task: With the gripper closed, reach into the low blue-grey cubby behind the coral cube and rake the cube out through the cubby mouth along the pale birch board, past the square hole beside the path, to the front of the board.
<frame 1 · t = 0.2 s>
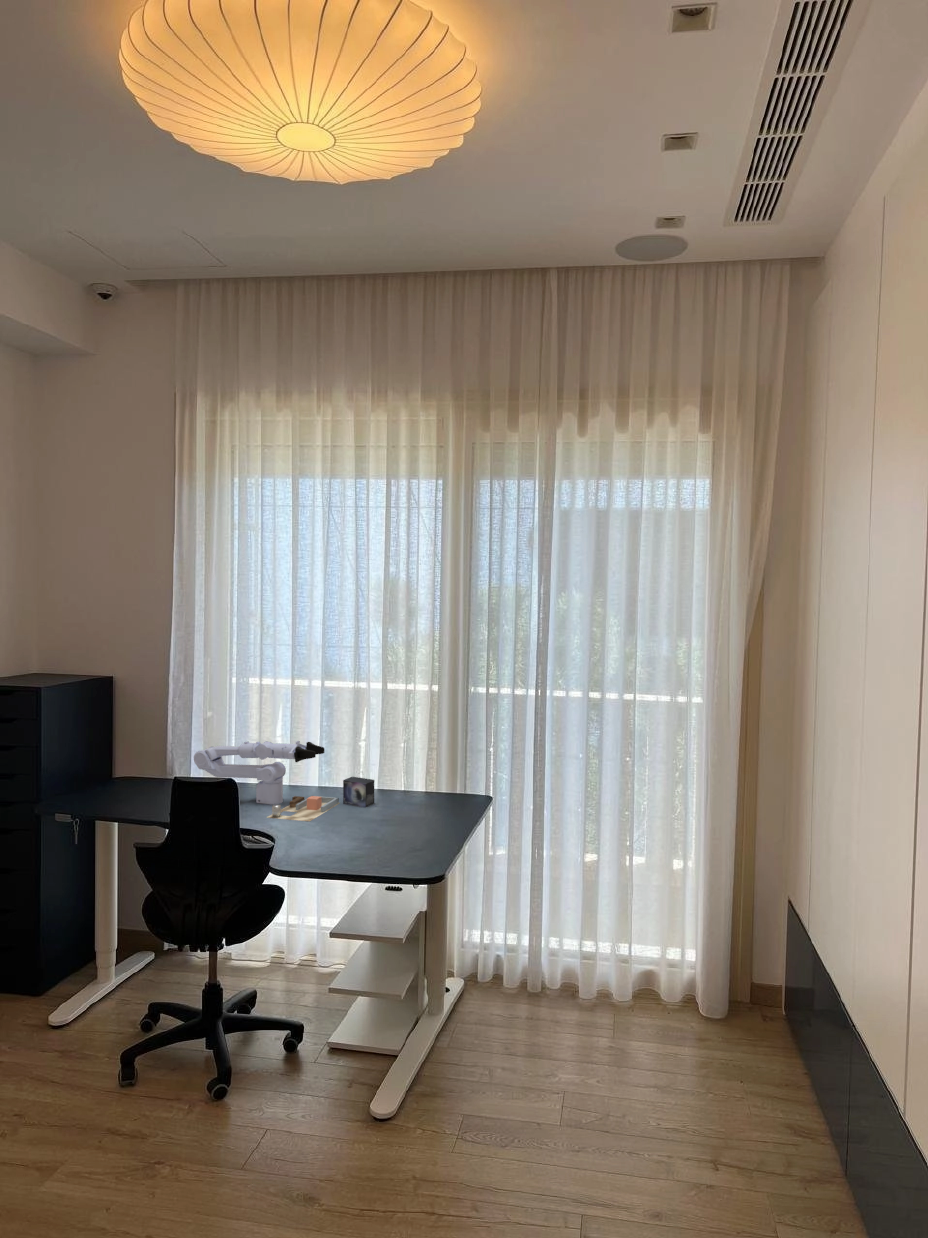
hand: (319, 752, 335), 21 cm above the table, tool horizontal, fingers open, 7 cm apart
birch board: (304, 813, 330), on the table
coral cube: (314, 808, 332), point 1 cm above the table, touching birch board
grey metal peg: (276, 816, 321), point 1 cm above the table, touching birch board
walnut bar: (297, 804, 337), point 1 cm above the table, touching birch board
small box: (358, 807, 339), on the table
cubby: (317, 806, 335), resting on birch board
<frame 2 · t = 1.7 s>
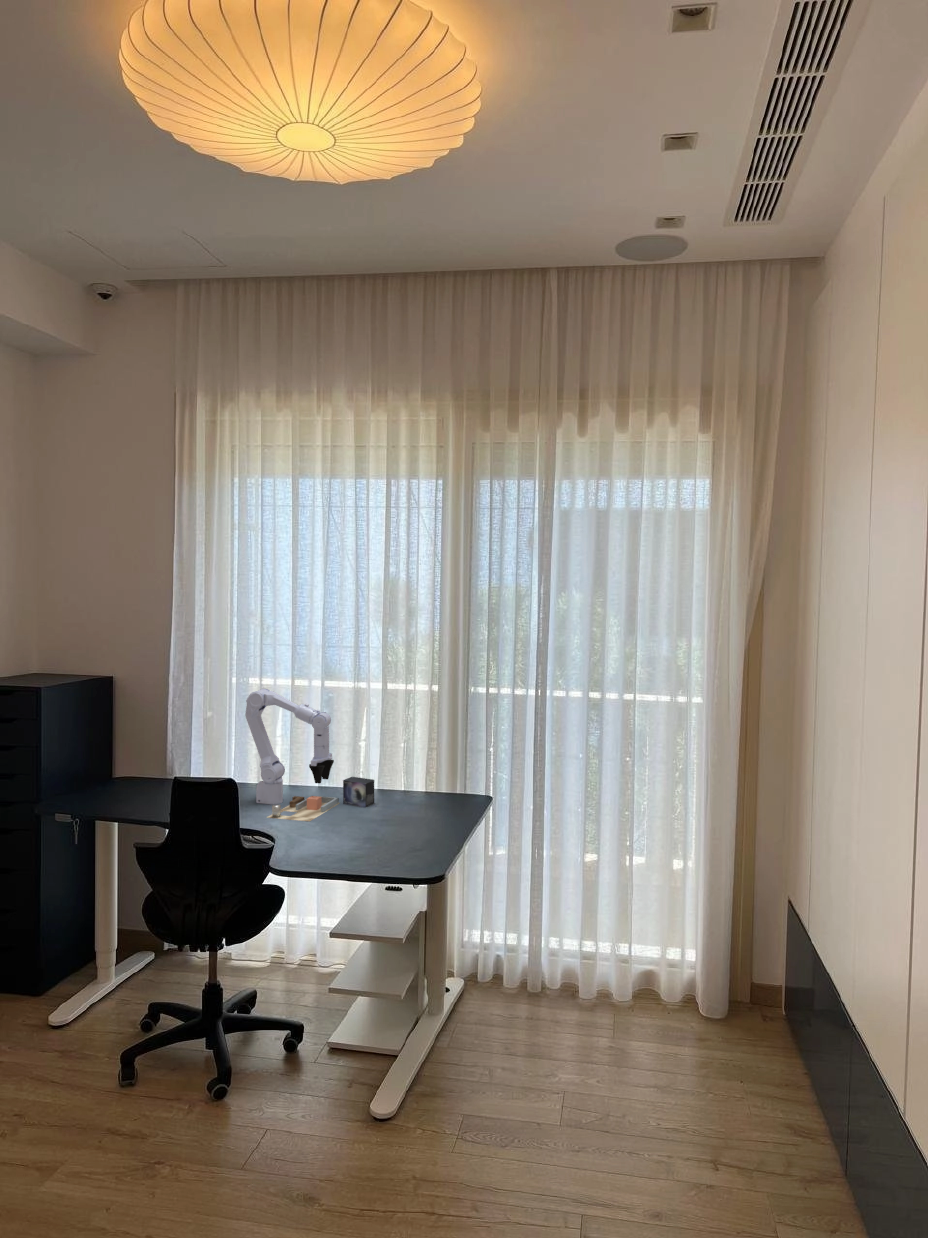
hand: (321, 781, 338), 10 cm above the table, tool pointing down, fingers open, 6 cm apart
nothing on the table moved.
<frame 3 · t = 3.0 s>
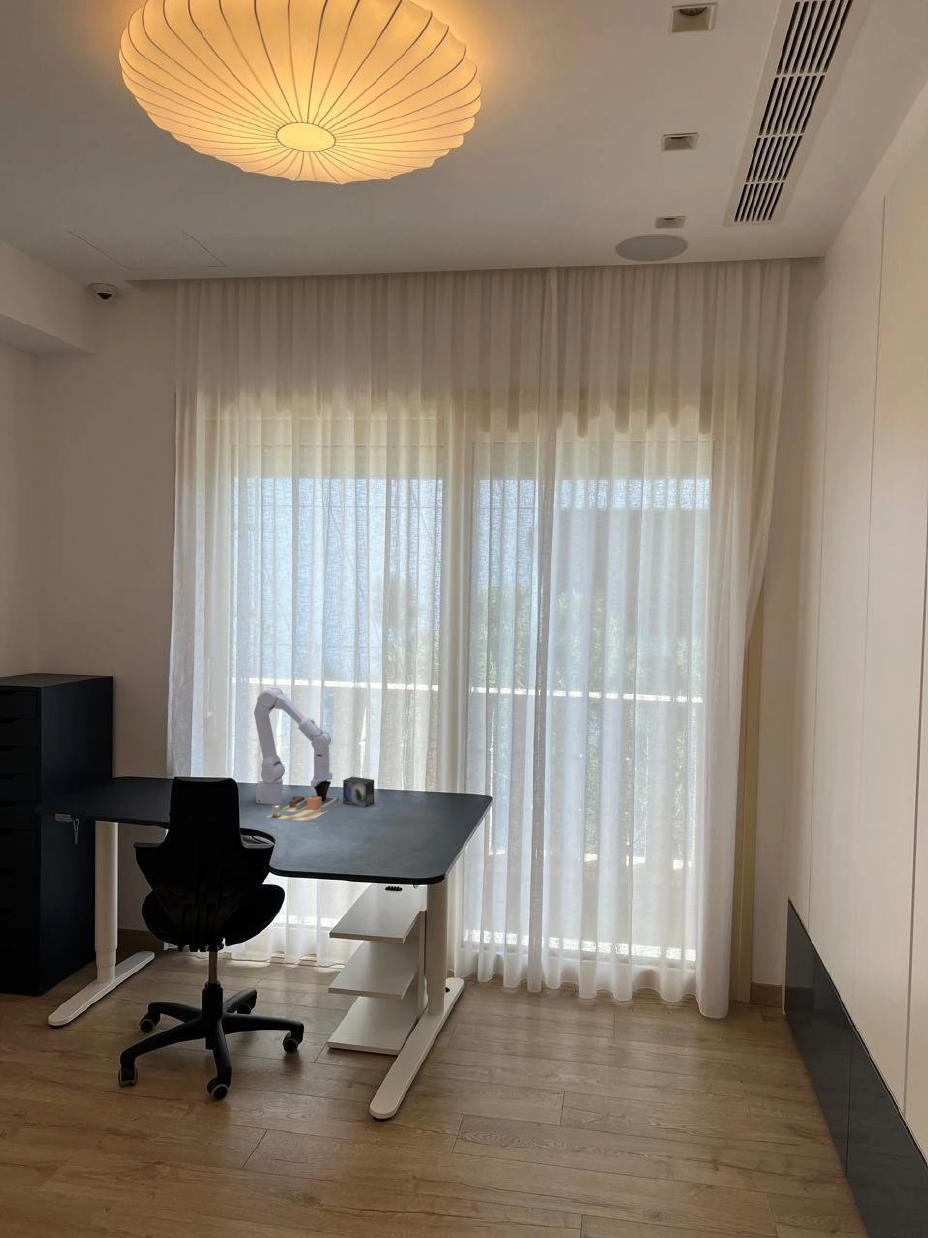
hand: (321, 801, 338), 2 cm above the table, tool pointing down, fingers closed
nothing on the table moved.
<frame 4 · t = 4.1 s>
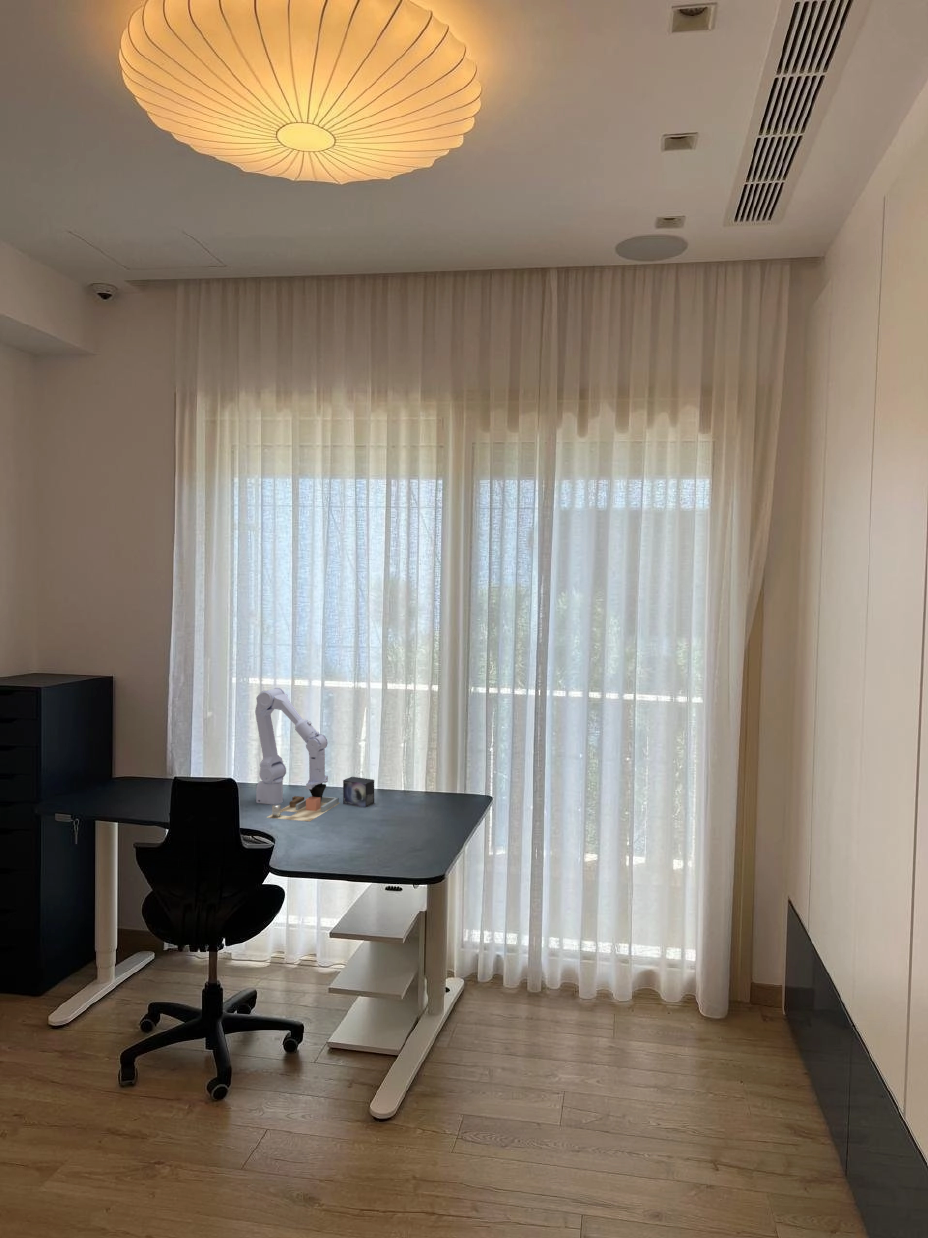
hand: (317, 804, 335), 2 cm above the table, tool pointing down, fingers closed
coral cube: (313, 809, 331), point 1 cm above the table, touching gripper
everything else where it was.
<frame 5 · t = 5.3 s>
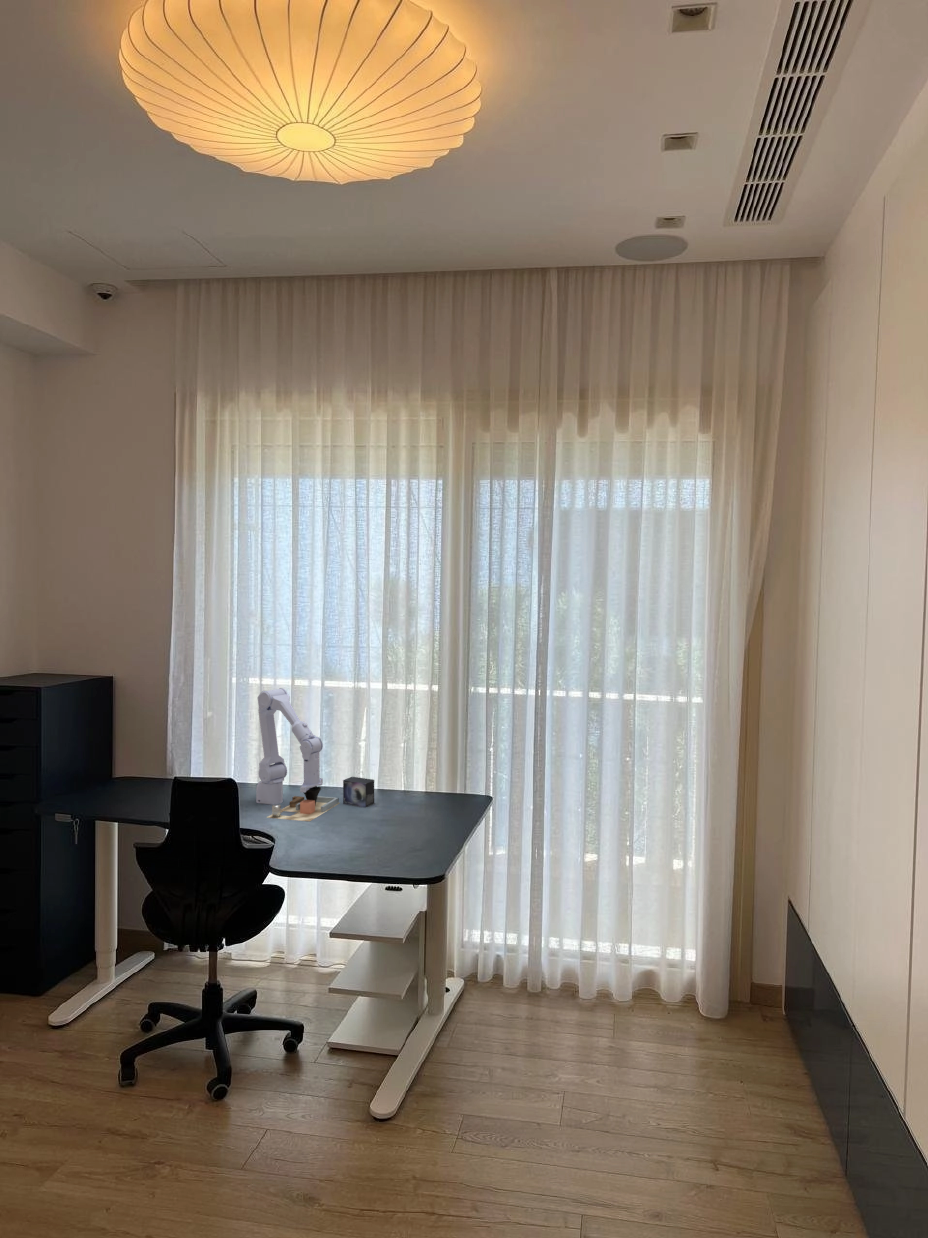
hand: (311, 807, 330), 2 cm above the table, tool pointing down, fingers closed
coral cube: (307, 812, 327), point 1 cm above the table, touching birch board, gripper
everything else where it was.
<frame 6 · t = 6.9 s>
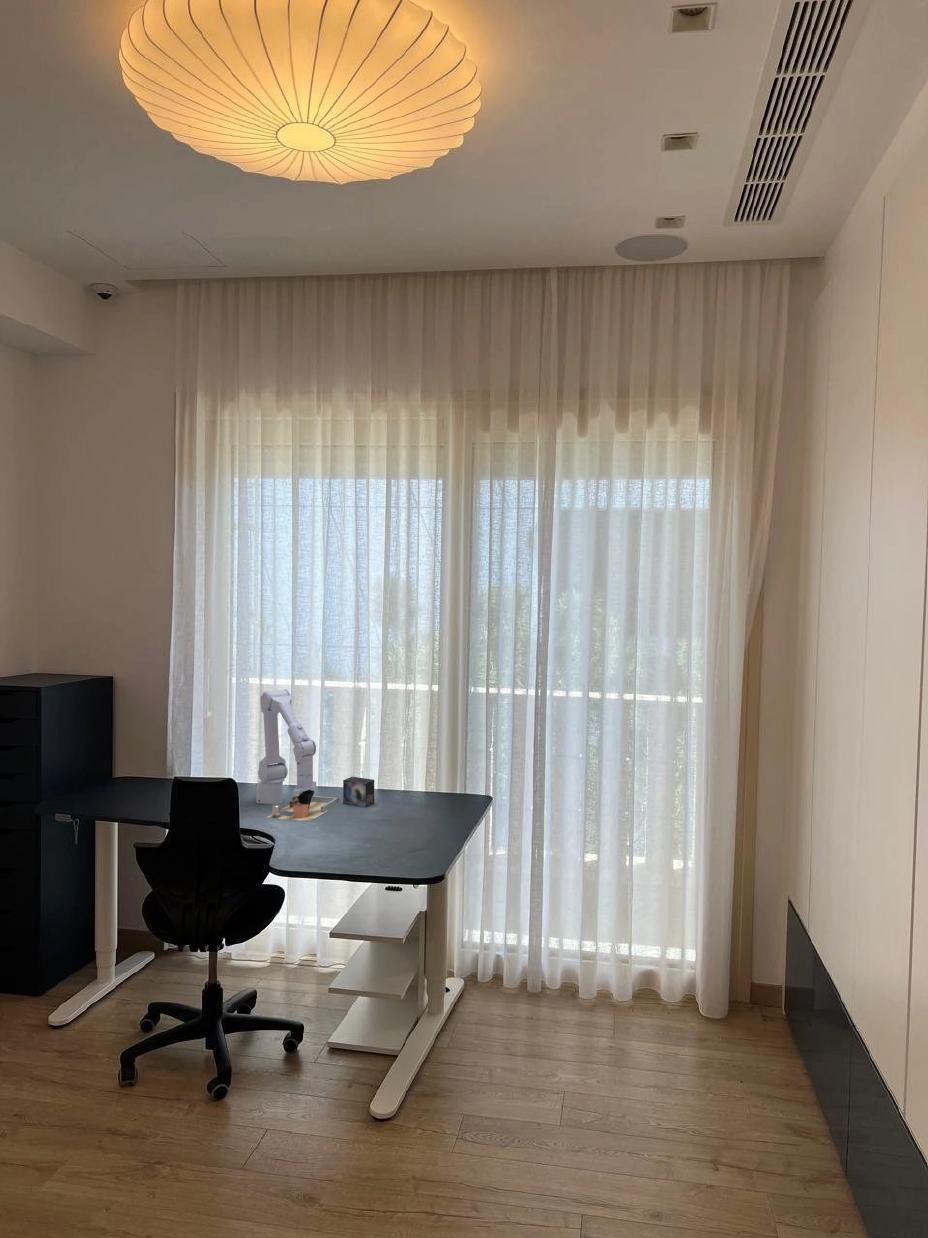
hand: (305, 811, 325), 2 cm above the table, tool pointing down, fingers closed
coral cube: (300, 816, 322), point 1 cm above the table, touching birch board, gripper
everything else where it was.
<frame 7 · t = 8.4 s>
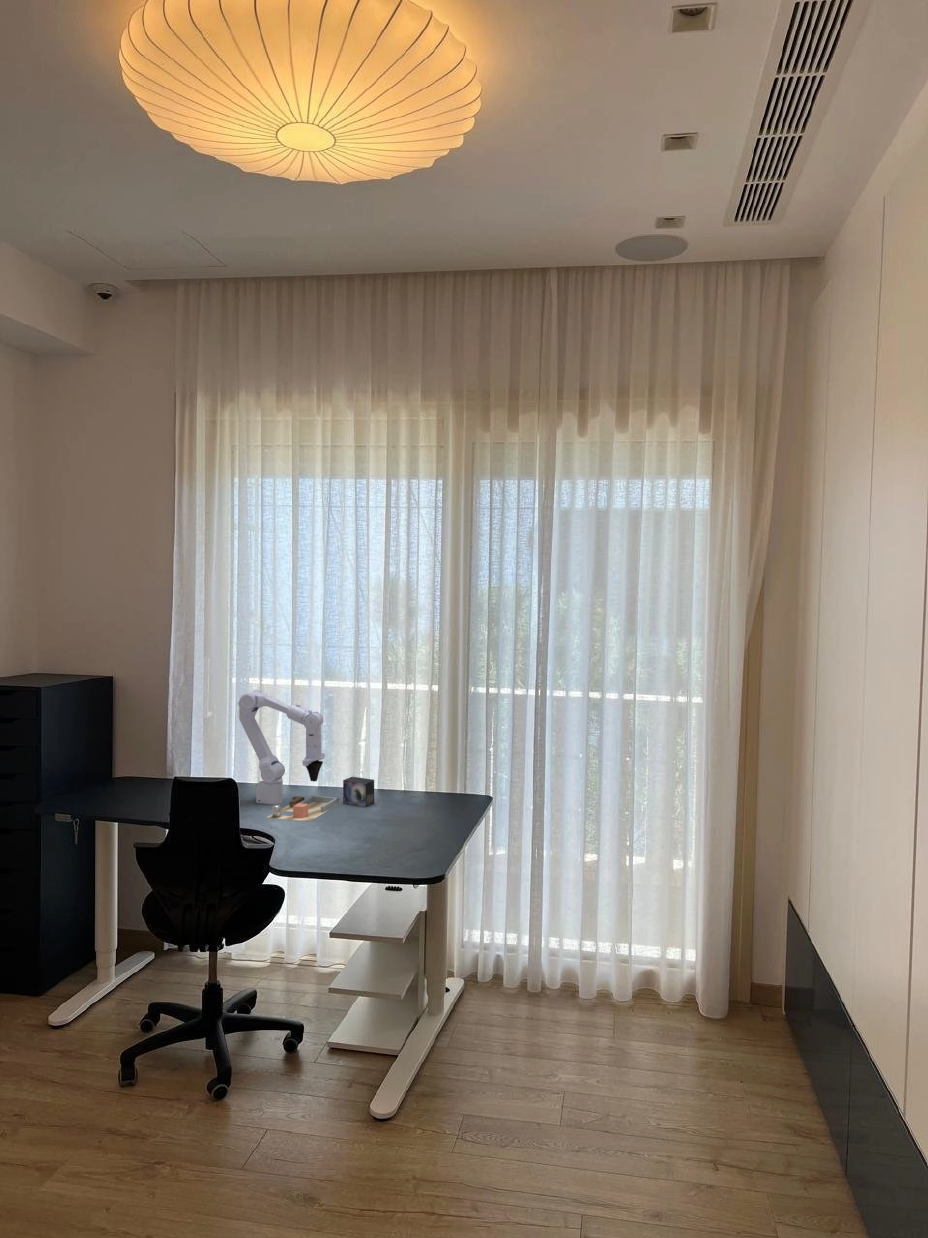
hand: (313, 781, 338), 10 cm above the table, tool pointing down, fingers closed
coral cube: (300, 816, 322), point 1 cm above the table, touching birch board
everything else where it was.
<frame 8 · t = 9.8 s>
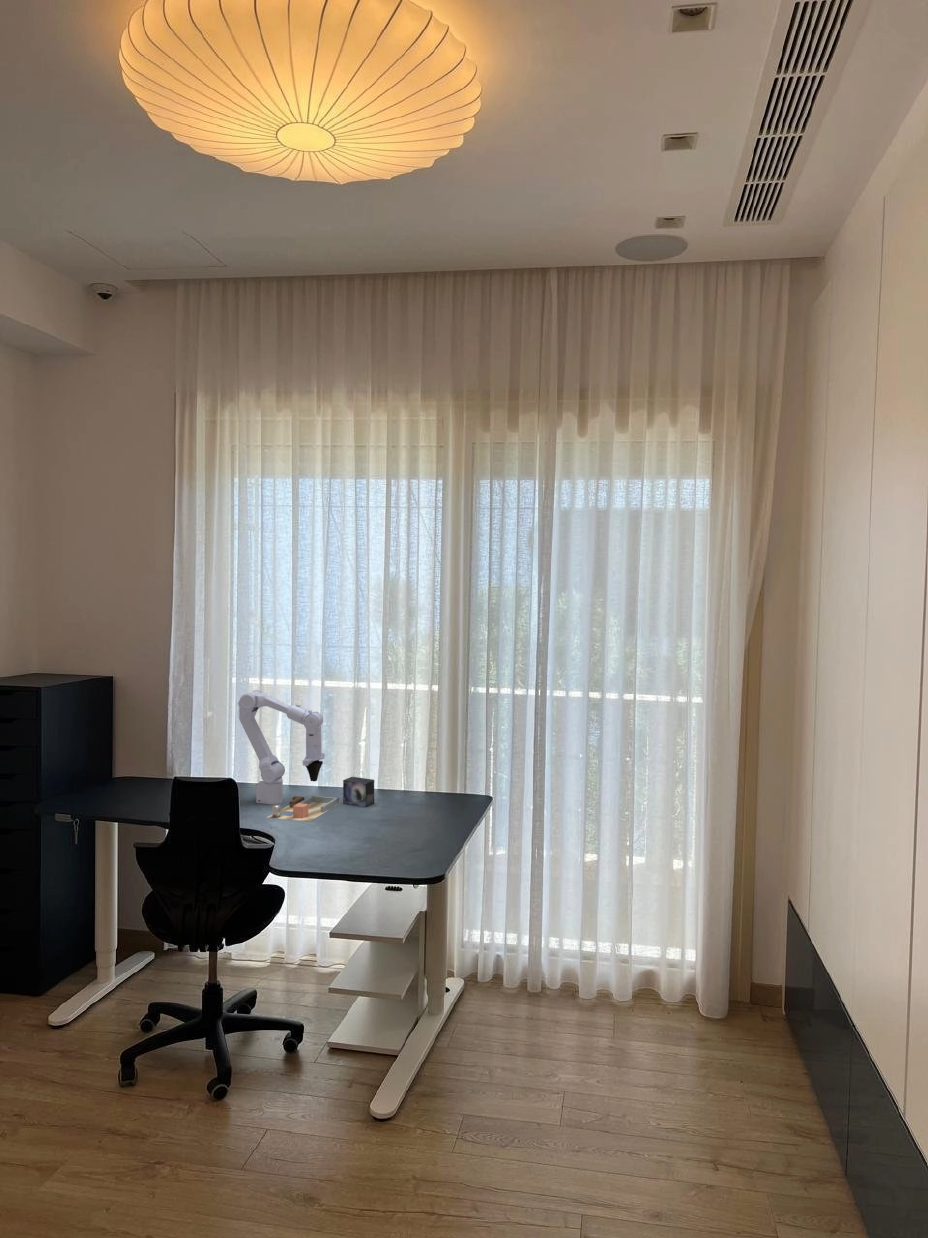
hand: (313, 780, 338), 10 cm above the table, tool pointing down, fingers closed
nothing on the table moved.
at the end: coral cube inside the target area (1.1 cm from its centre), point 1.2 cm above the table; coral cube tilted 0° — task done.
